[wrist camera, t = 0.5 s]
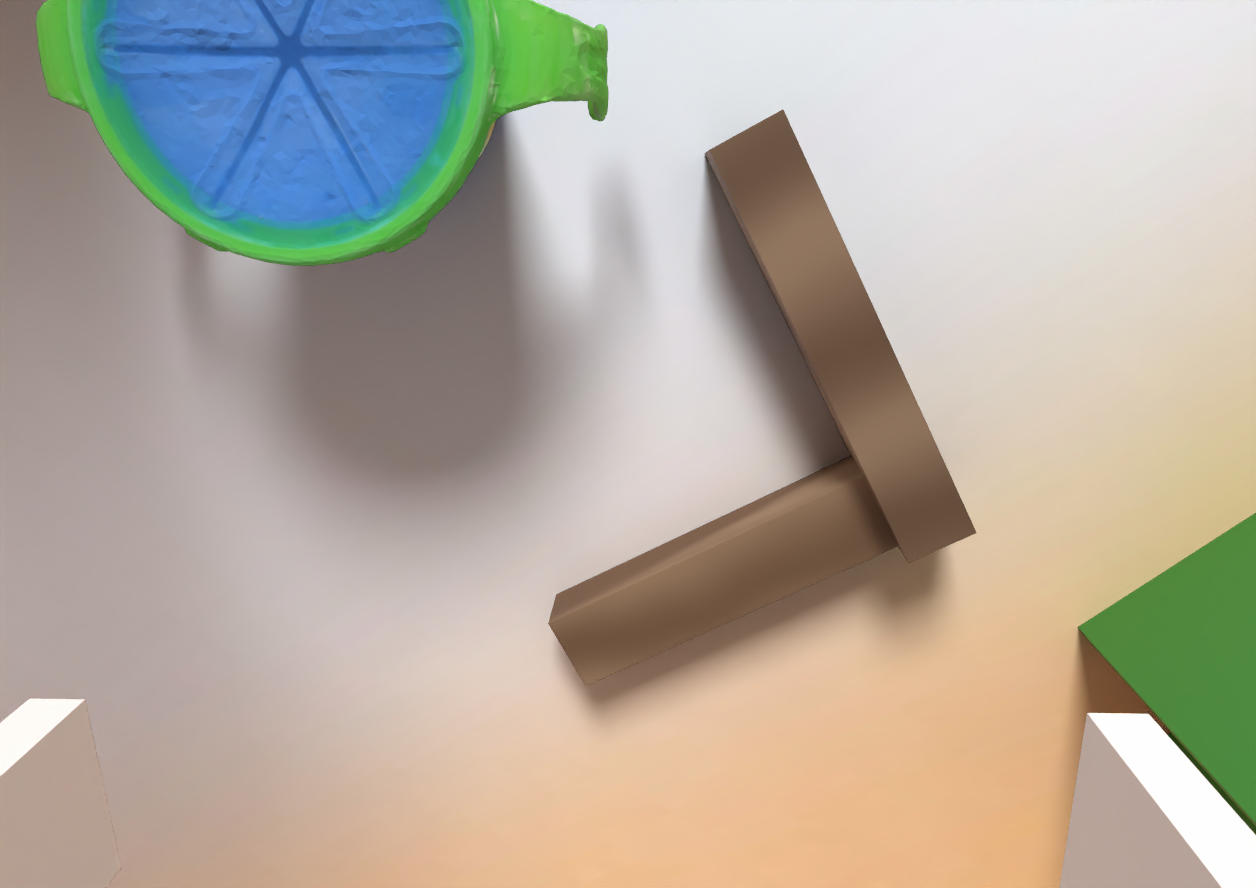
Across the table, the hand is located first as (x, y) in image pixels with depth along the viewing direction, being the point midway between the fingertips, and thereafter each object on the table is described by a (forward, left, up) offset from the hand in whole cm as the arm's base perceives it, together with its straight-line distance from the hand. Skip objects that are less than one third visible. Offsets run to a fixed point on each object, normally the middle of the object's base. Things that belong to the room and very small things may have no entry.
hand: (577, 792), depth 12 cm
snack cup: (-14, -2, -23) cm, 27 cm away
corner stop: (+1, +1, -23) cm, 23 cm away
